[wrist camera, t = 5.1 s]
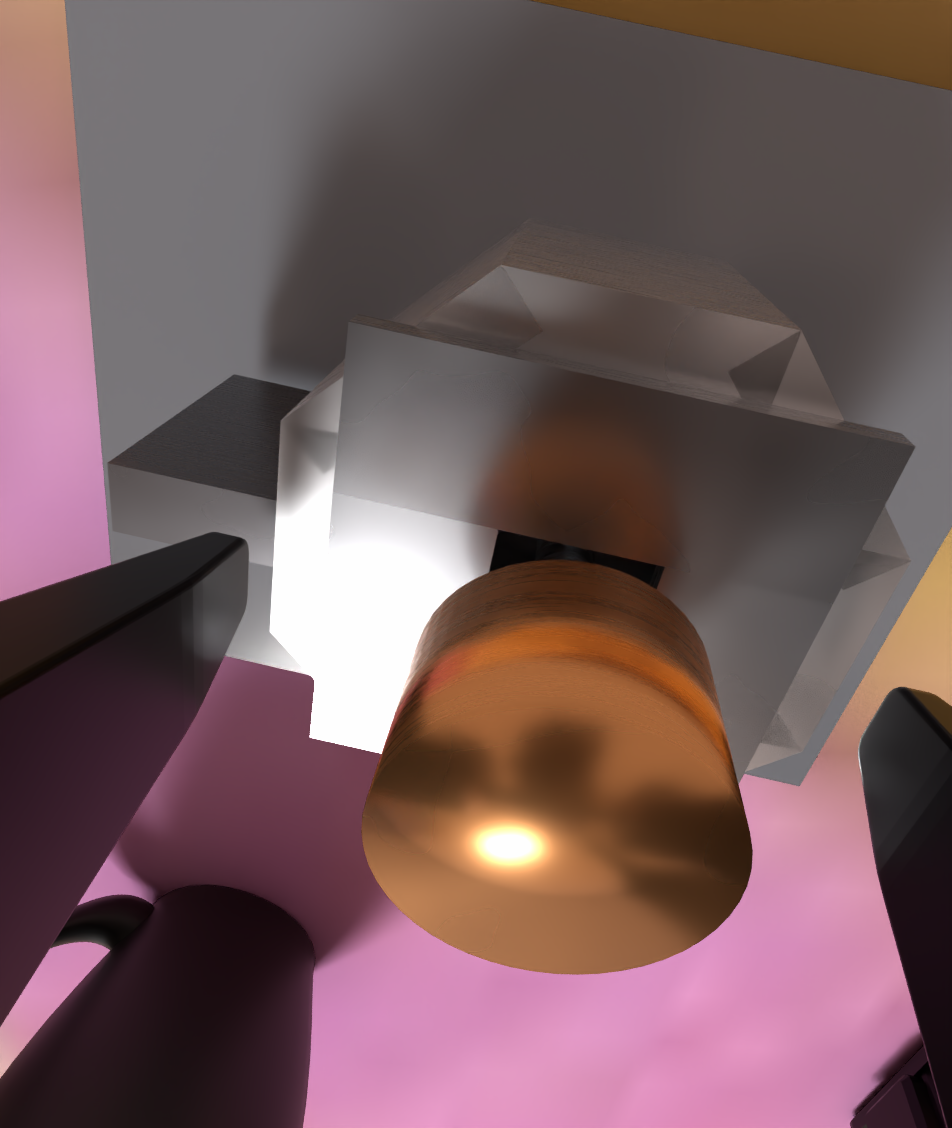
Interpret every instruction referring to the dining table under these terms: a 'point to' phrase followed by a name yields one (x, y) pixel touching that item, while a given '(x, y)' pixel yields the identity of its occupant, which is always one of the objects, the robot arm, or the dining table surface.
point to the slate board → (493, 206)
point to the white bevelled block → (549, 475)
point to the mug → (174, 1020)
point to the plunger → (559, 771)
